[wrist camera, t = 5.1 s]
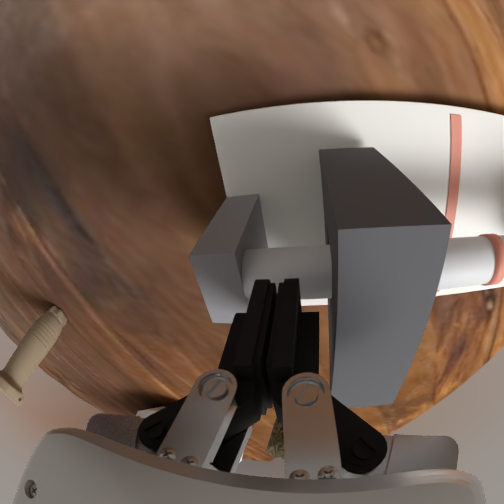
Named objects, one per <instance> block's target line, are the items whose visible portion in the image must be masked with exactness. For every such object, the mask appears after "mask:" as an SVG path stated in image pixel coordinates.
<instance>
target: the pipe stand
mask: <svg viewBox="0 0 504 504" xmlns="http://www.w3.org/2000/svg"><path fill="white" fill-rule="evenodd" d="M210 123H211V127H212V132H213V137H214V141H215V146H216V151H217V155H218V160H219V164H220V169H221V174H222V178H223V183H224V187H225V192H226V196H227V198H226V199H225V201H224V202H223V204H222V205H221V207H220V208H219V210H218V211H217V213H216V214H215V216H214V217H213V219H212V220H211V222H210V223H209V225H208V226H207V228H206V229H205V231H204V232H203V234H202V236H201V237H200V239H199V240H198V242H197V243H196V245H195V247H194V248H193V250H192V251H191V253H190V254H189V258H190V261H191V264H192V266H193V269H194V272H195V275H196V278H197V281H198V284H199V287H200V289H201V292H202V295H203V298H204V300H205V303H206V306H207V309H208V311H209V314H210V317H211V319H212V322H213V323H232V322H233V319H234V316H235V314H236V313H246V312H247V308H248V304H249V300H250V296H251V293H252V289H253V285H254V281H255V280H256V279H270V281H271V283H275V284H276V290H277V292H278V286H279V283H282V282H284V279H288V278H299V283H300V296H301V306H305V305H328V298H332V261H331V253H330V245H326V242H325V222H324V207H323V193H322V181H321V170H320V160H319V149H336V148H359V147H374V148H375V149H376V150H377V151H379V152H380V153H381V154H382V155H383V156H384V157H385V158H387V159H388V160H389V161H390V162H391V163H392V164H393V165H394V166H396V167H397V168H398V169H399V170H400V171H401V172H402V173H403V174H404V175H405V176H406V177H407V178H408V179H409V180H410V181H411V182H412V183H414V184H415V185H416V186H417V187H418V188H419V189H420V190H421V191H422V192H423V193H424V195H425V196H426V197H427V198H428V199H429V200H430V201H431V202H432V203H433V204H434V205H435V206H436V207H437V208H438V209H439V210H440V212H441V213H442V214H443V215H444V216H445V217H446V218H447V219H448V221H449V222H450V223H451V224H452V226H451V232H450V238H449V243H448V248H447V253H446V257H445V262H444V266H443V270H442V274H441V278H440V282H439V286H438V289H437V293H436V296H439V295H447V294H455V293H463V292H470V291H477V290H484V289H490V288H497V287H503V286H504V115H501V114H497V113H492V112H487V111H482V110H477V109H471V108H465V107H458V106H451V105H443V104H434V103H423V102H410V101H389V100H346V101H324V102H310V103H298V104H289V105H280V106H272V107H264V108H258V109H251V110H245V111H239V112H233V113H228V114H223V115H218V116H214V117H211V118H210Z"/></svg>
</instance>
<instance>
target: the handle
mask: <svg viewBox="0 0 504 504" xmlns="http://www.w3.org/2000/svg"><path fill="white" fill-rule="evenodd" d="M66 322H67V317H66V316H65V315H64V314H63V311H62V310H61V309H58V308H57V307H56V306H52V307H51V308H50V309H49V310H48V311H47V312H46V313H44V314H43V315H42V316H41V317H40V318H39V319H38V320H37V321H36V322H35V323H34V324H33V325H32V327H31V328H30V329H29V330H28V332H27V333H26V335H25V336H24V338H23V339H22V341H21V342H20V344H19V345H18V347H17V349H16V351H15V352H14V353H13V355H12V357H11V358H10V360H9V362H8V363H7V365H6V367H5V368H4V369H3V370H2V371H0V390H1V391H2V392H3V393H4V394H5V395H6V396H7V397H8V398H10V399H11V400H12V401H13V402H14V403H15V404H17V405H18V406H19V407H20V406H21V404H22V402H23V400H24V396H23V394H22V387H23V385H24V384H25V382H26V381H27V379H28V378H29V377H30V375H31V374H32V373H33V371H34V370H35V369H36V367H37V366H38V365H39V363H40V362H41V361H42V360H43V358H44V357H45V356H46V354H47V353H48V352H49V350H50V348H51V347H52V346H53V345H54V343H55V341H56V340H57V338H58V336H59V335H60V333H61V331H62V327H63V326H65V324H66Z"/></svg>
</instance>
